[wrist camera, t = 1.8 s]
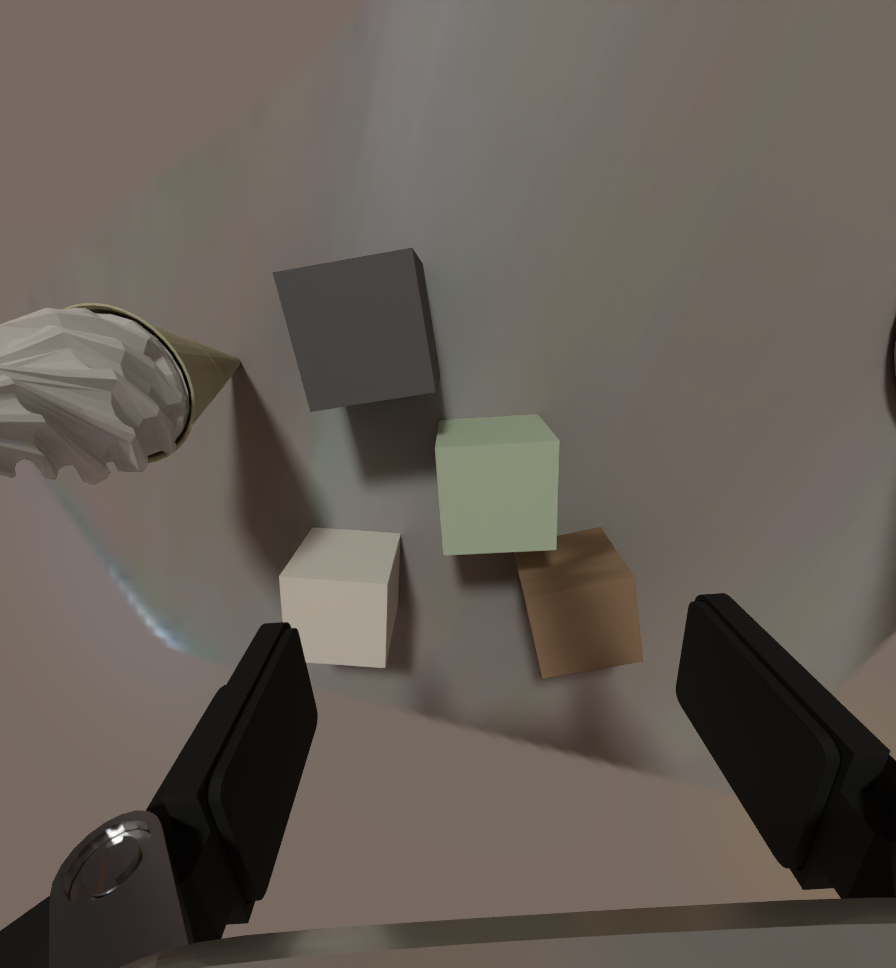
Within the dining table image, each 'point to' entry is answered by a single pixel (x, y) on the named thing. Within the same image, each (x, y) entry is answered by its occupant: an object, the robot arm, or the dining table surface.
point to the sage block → (497, 484)
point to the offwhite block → (343, 595)
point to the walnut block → (580, 605)
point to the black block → (360, 329)
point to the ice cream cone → (100, 390)
